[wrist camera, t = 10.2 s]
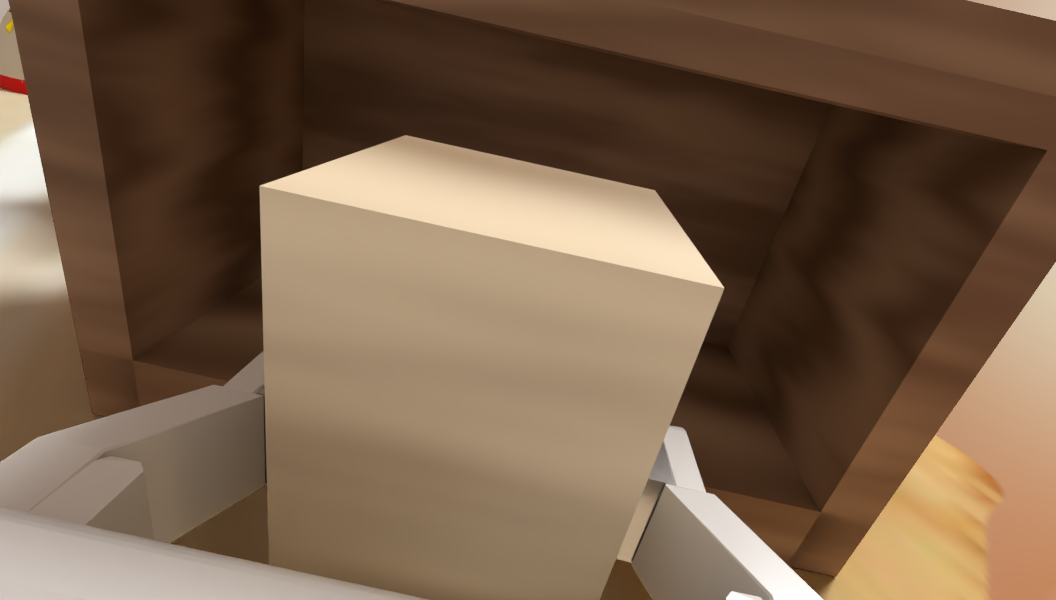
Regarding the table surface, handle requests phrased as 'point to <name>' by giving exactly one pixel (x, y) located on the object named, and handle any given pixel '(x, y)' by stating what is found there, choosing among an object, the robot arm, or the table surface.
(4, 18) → the kitchen timer
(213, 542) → the table surface
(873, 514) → the brown wooden box
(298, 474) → the beech block
